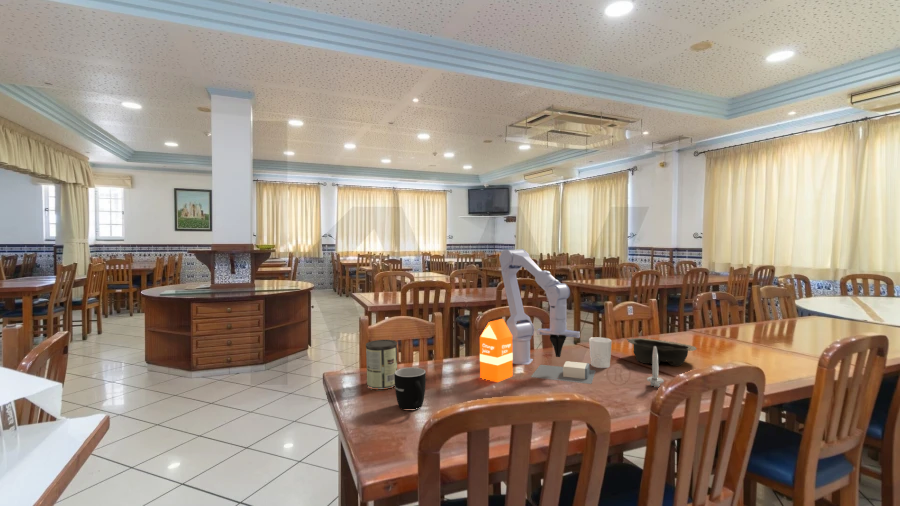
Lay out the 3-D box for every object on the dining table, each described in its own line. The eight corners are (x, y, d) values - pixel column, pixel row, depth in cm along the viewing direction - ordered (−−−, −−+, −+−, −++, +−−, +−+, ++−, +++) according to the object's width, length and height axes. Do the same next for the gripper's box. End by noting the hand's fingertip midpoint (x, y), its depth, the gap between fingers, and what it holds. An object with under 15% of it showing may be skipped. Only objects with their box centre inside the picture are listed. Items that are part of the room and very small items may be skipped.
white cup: (608, 363, 166) (608, 337, 165) (614, 369, 158) (614, 342, 158) (587, 363, 166) (587, 337, 166) (591, 369, 159) (591, 341, 158)
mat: (530, 377, 149) (530, 377, 149) (540, 365, 164) (540, 364, 164) (591, 384, 141) (591, 383, 141) (595, 371, 156) (595, 370, 156)
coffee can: (376, 379, 150) (375, 338, 150) (403, 381, 147) (402, 340, 147) (360, 388, 141) (359, 345, 140) (389, 391, 137) (388, 347, 137)
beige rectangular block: (563, 366, 149) (587, 368, 146) (566, 361, 156) (589, 363, 153) (563, 376, 149) (587, 379, 146) (566, 370, 156) (589, 373, 153)
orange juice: (479, 378, 150) (479, 320, 149) (495, 372, 156) (494, 317, 155) (498, 383, 144) (497, 323, 144) (513, 377, 151) (512, 319, 150)
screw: (655, 389, 136) (643, 384, 141) (667, 387, 138) (654, 382, 142) (655, 348, 136) (643, 345, 140) (667, 346, 138) (654, 343, 142)
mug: (390, 404, 127) (389, 370, 126) (418, 398, 131) (418, 365, 131) (406, 419, 116) (405, 381, 116) (436, 412, 120) (435, 376, 120)
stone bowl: (630, 367, 160) (629, 341, 160) (623, 355, 183) (623, 333, 184) (706, 371, 152) (705, 344, 153) (689, 358, 176) (688, 335, 177)
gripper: (535, 318, 152) (535, 357, 153) (578, 321, 146) (578, 361, 147) (539, 315, 159) (539, 352, 159) (580, 317, 153) (580, 356, 153)
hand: (558, 356), depth 153 cm, fingers closed
